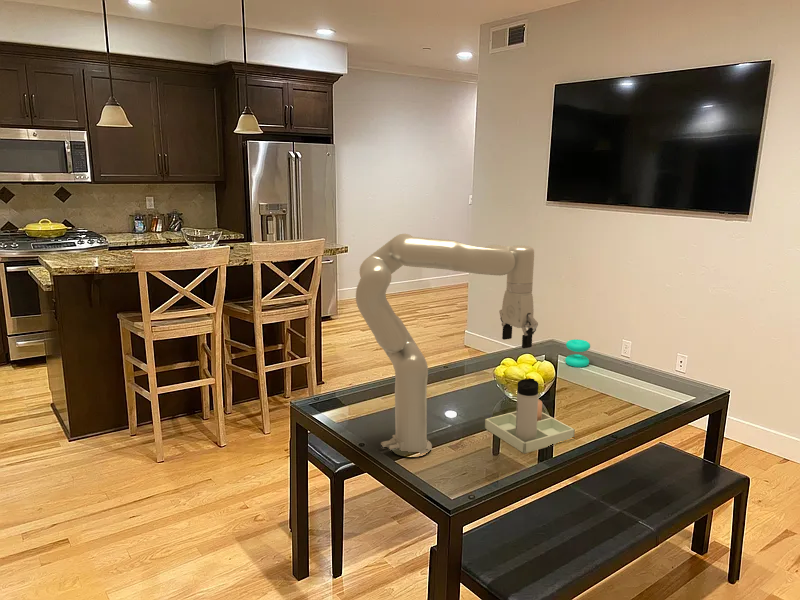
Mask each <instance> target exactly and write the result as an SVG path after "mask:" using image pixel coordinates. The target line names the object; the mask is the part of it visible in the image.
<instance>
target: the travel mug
mask: <svg viewBox="0 0 800 600" xmlns="http://www.w3.org/2000/svg"><path fill="white" fill-rule="evenodd" d="M539 385H540V384H539V382H538V381H537V380H535V379H534V378H528V379H527V378H524V379H521V380H519V381H518V382H517V390H516V393H517V394H516V410H515V411H516V437H517V438H519V439H520V440H522V441H523V442H528V441H532V440H535V439H536V432H537V411H538V399H539Z"/></svg>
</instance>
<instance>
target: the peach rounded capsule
mask: <svg viewBox="0 0 800 600" xmlns="http://www.w3.org/2000/svg"><path fill="white" fill-rule="evenodd" d="M542 412H543V401H542V400H541V399H539V398H538V411H537V421H540V420H542Z"/></svg>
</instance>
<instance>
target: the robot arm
mask: <svg viewBox="0 0 800 600" xmlns="http://www.w3.org/2000/svg"><path fill="white" fill-rule="evenodd" d="M534 261H535V249H534V248H533V247H532V246H529V245H512V246H508V245H499V244H498V245H497V244H489V245H487V246H484V247H483V246H482V247H480V246H474V245H469V244H465V243H462V242H459V241H455V240H451V239H442V238H431V237H430V238H429V237H420V236H413V235H411V234H408V233H401V234H397V235H396V236H394V237H392V238H391V239H390V240H389V241H387V242H386V243H385V244H383V245H382V246H381V247H379V248H378V249H377V250H376V251H374V252H373V253H371V254H370V255H368V257H366V258H365V259H364V260H363V261H362V263H361V264H360V267H359V276H360V279H359V281H358V284H357V286H356V290H355V302H356V306H357V309H358V310H359V312H360V314H361V316H362V318H363V319H364V321H365V323H366V325H367V326H368V328H369V329H370V331H371V333H372V335H373V336H374V338H375V341H376V342H377V344H378V345H379V347H381V349H382V350H383V351H384V352H385V354H386V356H387V357H388V359H389V361H390V362H391V364H392V366H393V369H394V376H395V379H394V380H395V382H394V412H395V413H394V419H395V420H394V421H395V423H394V424H395V430H394V431H395V434H392V438H390V439H389V440H384V441H380V446H381V445H382V446H383V447H387V448H388V450H389V449H390V450H389V451H391V450H392V449H396V448H397V449H399V450H401V451H408V452H419V453H420V454H422V453H426V452H429V451H430V450H431V449H433V448H432V447H433V444H432V443H431V441H429V439H428V438H427V427H428V425H427V423H428V421H427V420H428V419H427V418H428V417H427V416H428V415H427V413H428V412H427V411H428V410H427V407H428V406H427V400H428V399H427V398H428V397H427V396H428V395H427V394H428V393H427V392H428V391H427V389H428V378H429V367H428V362H427V359H426V357H425V356H424V354H423V353H422V351H421V350H420V348H419V346H418V345H417V344H416V342H415V340H414V338H413V337H412V335H411V333H410V331H408V329H407V327H406V325H405V324H404V322H403V320H402V319H401V317H399V316H398V315H397V314H396V313H395V311H394V310H393V307H392V306H391V304H390V303H389V301H388V299H387V291H388V288H389V286H390V284H391V282H392V274H394V273H395V272H396V271H398V270H399V269H400V268H402V267H403V266H404V267H409V268H424V269H425V268H426V269H434V270H446V271H447V270H448V271H453V272H460V273H461V272H462V273H469V274H476V275H487V276H499V277H500V276H506V289H505V291H504V294H503V299H502V305H501V306H502V307H501V309H500V310H499V317H500V321H501V327H502V333H501V335H502V337H501V339H502V340H504V341H505V340H511V339H512V338H513V327H515V328H516V329H521V331H522V332H523V334H522V338H521V348H522V349H528V348H529V349H530V348H532V346H533V335H535V332H536V331H537V328H538V326H539V322H538V321H537V320H536V319H535V317H534V297H533V296H534V295H533V281H534V265H535V263H534ZM431 451H432V450H431Z"/></svg>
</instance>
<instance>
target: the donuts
mask: <svg viewBox="0 0 800 600" xmlns="http://www.w3.org/2000/svg"><path fill="white" fill-rule="evenodd" d="M565 346H566V348H567V349H568V350H569V351H571V352H574V354H569V355H567V356H566V357H565V358H564V361H565V363H566V365H568V366H570V367H574V368H583V367H587V366H588V365H589V364H590V359H589V358H588V357H587V356H585V355H583V354H578V353H580V352H581V353H584V352H586V351H589V350H590V348H591V344H590V342H589V341H587V340H584V339H576V338H575V339H569V340H567V342H566V343H565ZM575 352H576V353H575Z"/></svg>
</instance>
